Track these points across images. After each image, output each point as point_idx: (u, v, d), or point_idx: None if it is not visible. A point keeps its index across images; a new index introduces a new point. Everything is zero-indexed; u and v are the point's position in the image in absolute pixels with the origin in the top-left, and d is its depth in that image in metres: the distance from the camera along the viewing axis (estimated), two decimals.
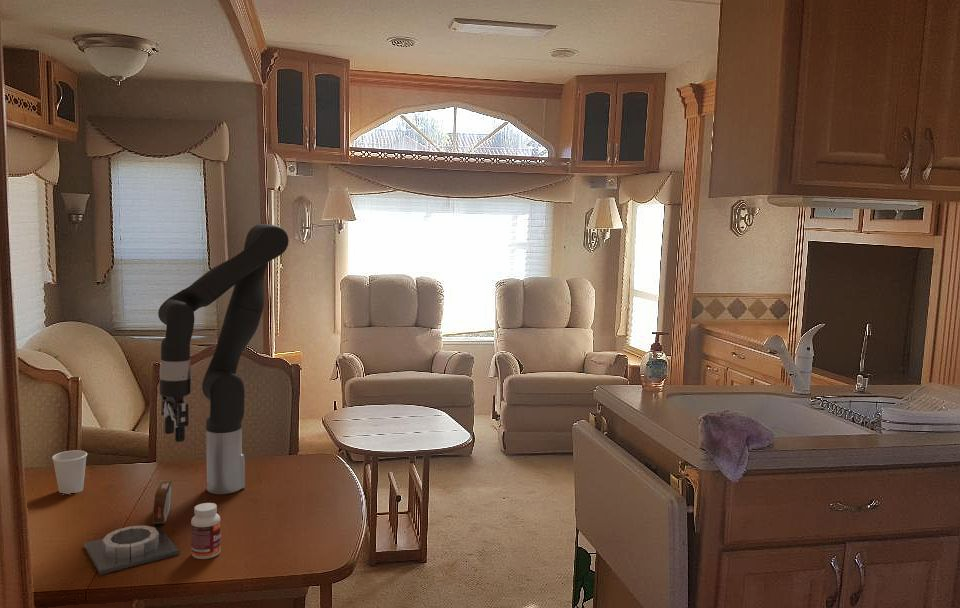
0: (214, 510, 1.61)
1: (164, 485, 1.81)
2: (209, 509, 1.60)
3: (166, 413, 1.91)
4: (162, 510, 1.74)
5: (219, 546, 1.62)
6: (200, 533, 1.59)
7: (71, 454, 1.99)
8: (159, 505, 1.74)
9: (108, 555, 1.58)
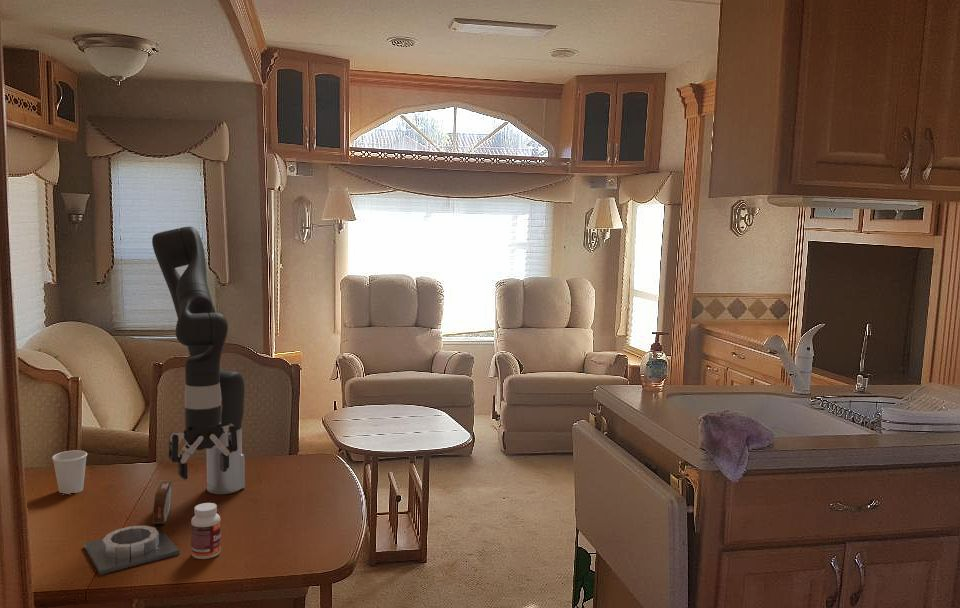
0: (214, 510, 1.61)
1: (164, 485, 1.81)
2: (209, 509, 1.60)
3: None
4: (162, 510, 1.74)
5: (219, 546, 1.62)
6: (200, 533, 1.59)
7: (71, 454, 1.99)
8: (159, 505, 1.74)
9: (108, 555, 1.58)
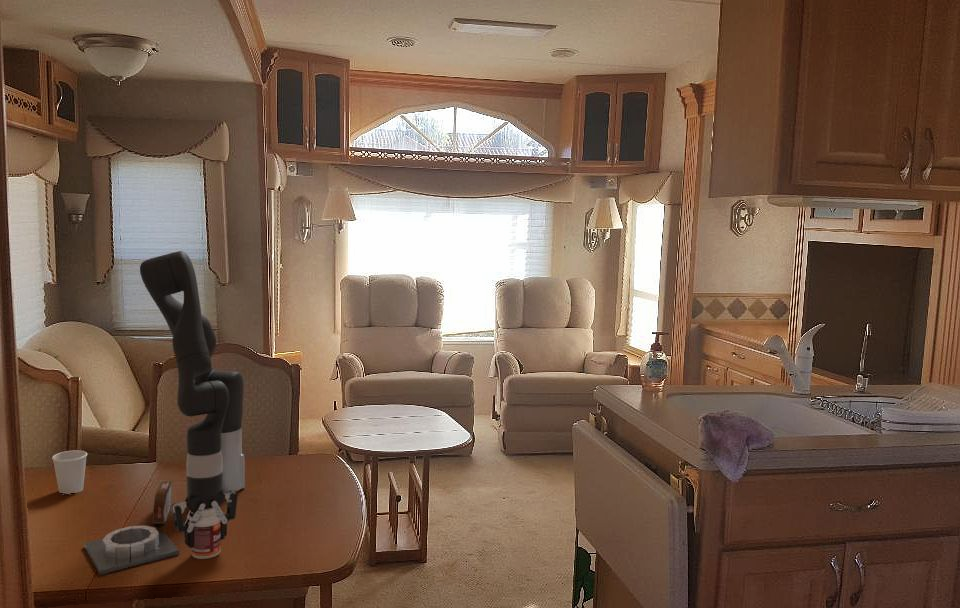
0: (214, 510, 1.61)
1: (164, 485, 1.81)
2: (209, 509, 1.60)
3: None
4: (162, 510, 1.74)
5: (219, 546, 1.62)
6: (200, 533, 1.59)
7: (71, 454, 1.99)
8: (159, 505, 1.74)
9: (108, 555, 1.58)
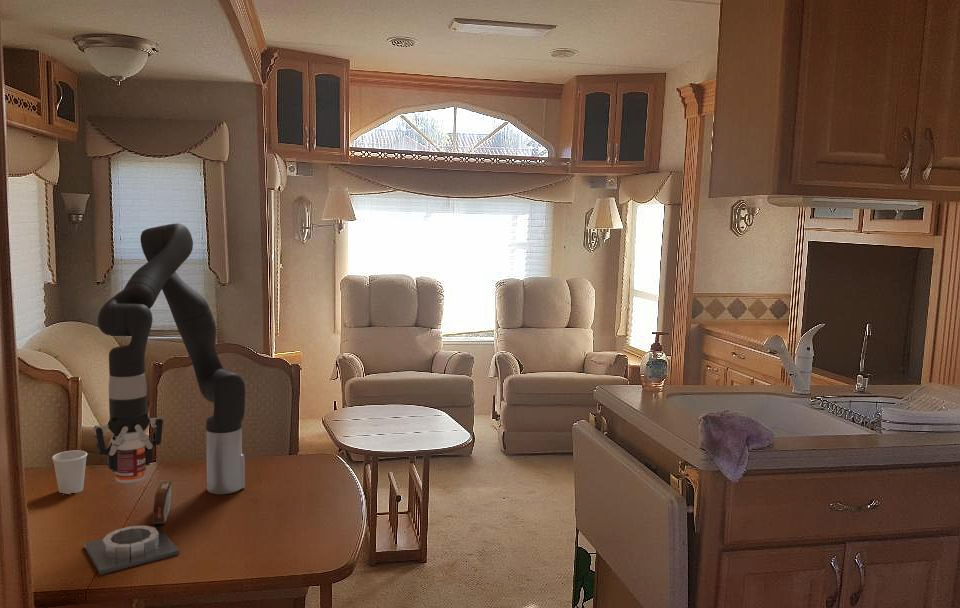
0: (138, 434, 1.59)
1: (164, 485, 1.81)
2: (132, 432, 1.58)
3: None
4: (162, 510, 1.74)
5: (144, 471, 1.61)
6: (123, 456, 1.57)
7: (71, 454, 1.99)
8: (159, 505, 1.74)
9: (108, 555, 1.58)
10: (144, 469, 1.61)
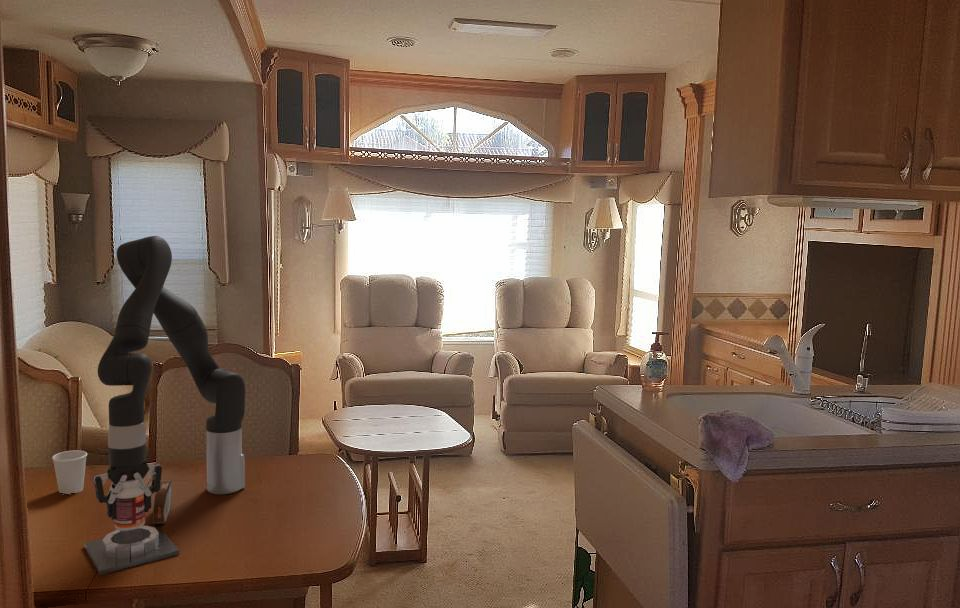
0: (137, 482, 1.60)
1: (164, 485, 1.81)
2: (131, 481, 1.60)
3: None
4: (162, 510, 1.74)
5: (143, 518, 1.62)
6: (122, 504, 1.59)
7: (71, 454, 1.99)
8: (159, 505, 1.74)
9: (108, 555, 1.58)
10: (143, 516, 1.62)
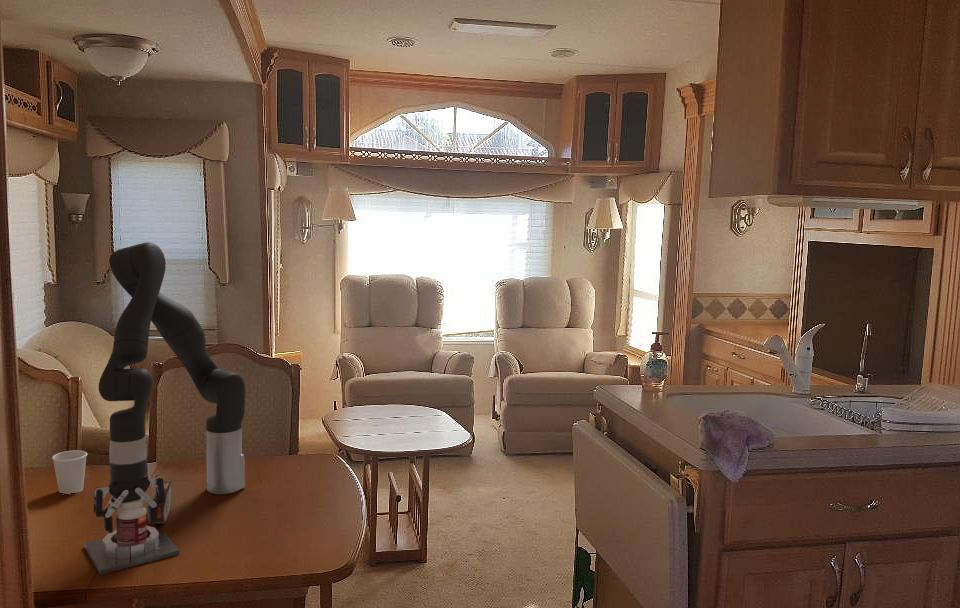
0: (139, 503, 1.61)
1: (164, 485, 1.81)
2: (134, 502, 1.60)
3: None
4: (162, 510, 1.74)
5: None
6: (125, 525, 1.59)
7: (71, 454, 1.99)
8: (159, 505, 1.74)
9: (108, 555, 1.58)
10: (145, 537, 1.63)
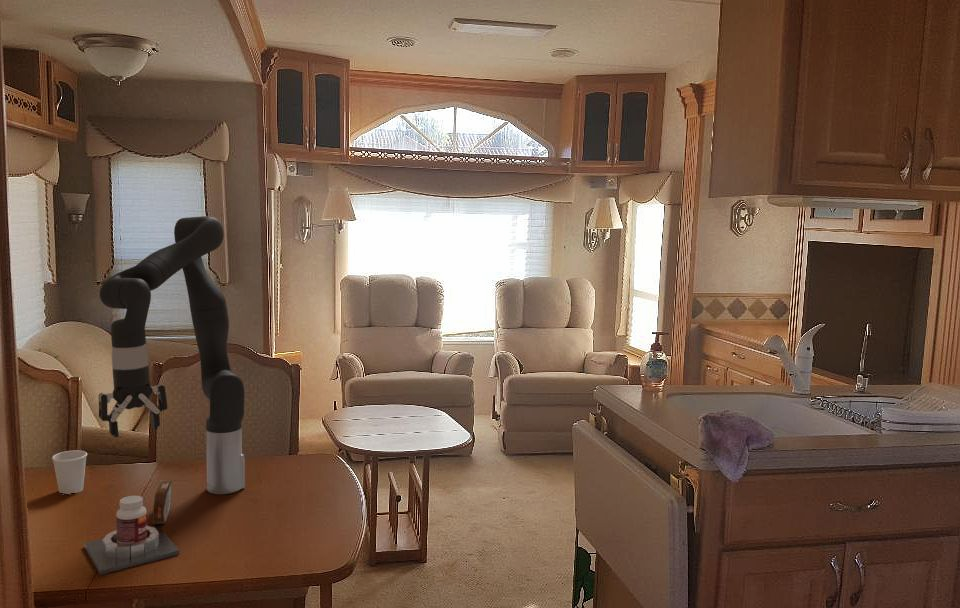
0: (139, 503, 1.61)
1: (164, 485, 1.81)
2: (134, 502, 1.60)
3: None
4: (162, 510, 1.74)
5: None
6: (125, 525, 1.59)
7: (71, 454, 1.99)
8: (159, 505, 1.74)
9: (108, 555, 1.58)
10: (145, 537, 1.63)
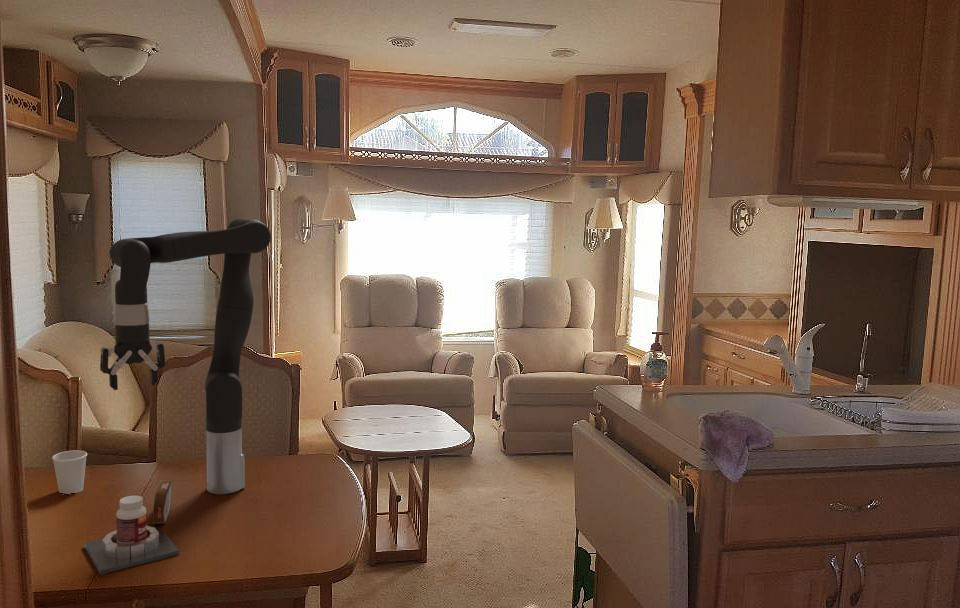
0: (139, 503, 1.61)
1: (164, 485, 1.81)
2: (134, 502, 1.60)
3: None
4: (162, 510, 1.74)
5: None
6: (125, 525, 1.59)
7: (71, 454, 1.99)
8: (159, 505, 1.74)
9: (108, 555, 1.58)
10: (145, 537, 1.63)
